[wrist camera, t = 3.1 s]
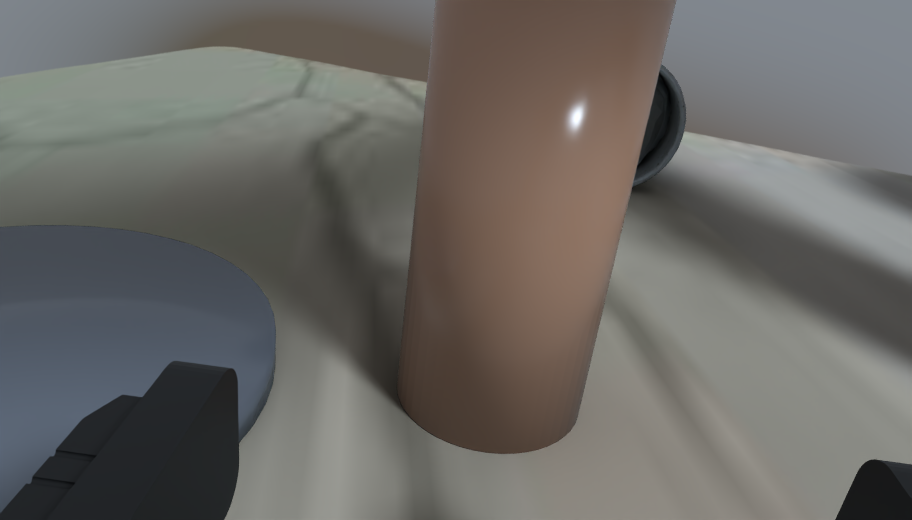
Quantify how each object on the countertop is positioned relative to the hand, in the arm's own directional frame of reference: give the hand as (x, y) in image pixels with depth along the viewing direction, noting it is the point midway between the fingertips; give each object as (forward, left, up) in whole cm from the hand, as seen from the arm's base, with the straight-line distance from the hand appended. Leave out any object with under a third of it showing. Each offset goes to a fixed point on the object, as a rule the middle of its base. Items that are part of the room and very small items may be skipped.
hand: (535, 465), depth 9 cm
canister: (-4, -10, -7) cm, 13 cm away
